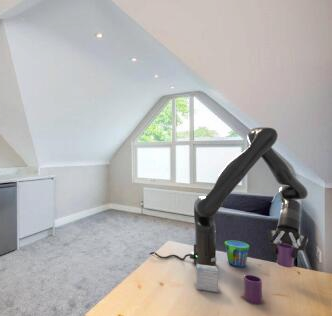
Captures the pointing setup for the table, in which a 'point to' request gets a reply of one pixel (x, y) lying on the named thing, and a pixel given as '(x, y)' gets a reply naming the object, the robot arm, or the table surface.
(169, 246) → the table surface
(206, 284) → the medicine box
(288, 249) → the plum cup
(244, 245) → the snack cup
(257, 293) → the plum cup
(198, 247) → the robot arm
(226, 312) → the table surface
